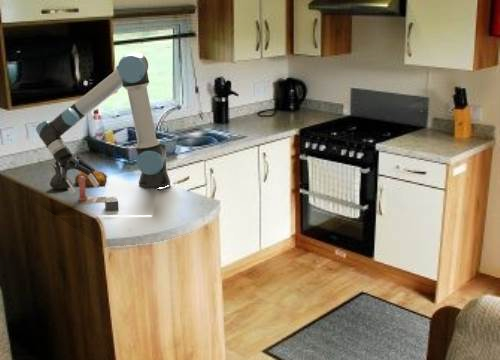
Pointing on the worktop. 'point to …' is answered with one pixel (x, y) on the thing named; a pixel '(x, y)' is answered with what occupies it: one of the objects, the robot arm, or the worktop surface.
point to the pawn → (82, 188)
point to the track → (95, 200)
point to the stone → (57, 185)
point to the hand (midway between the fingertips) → (85, 189)
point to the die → (111, 204)
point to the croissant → (99, 176)
